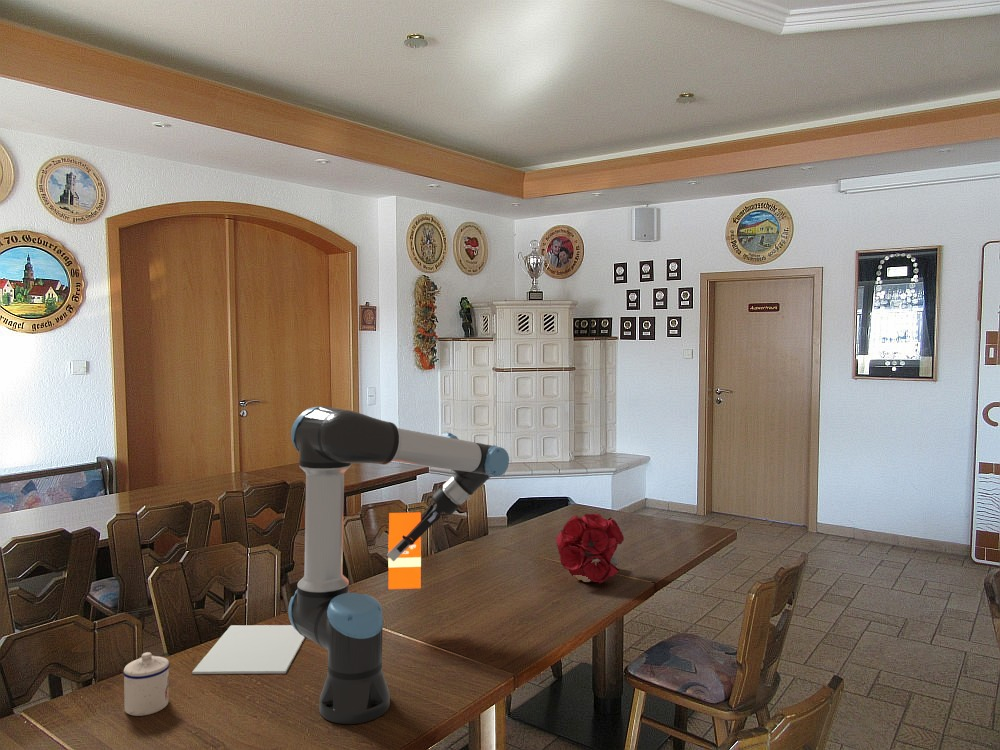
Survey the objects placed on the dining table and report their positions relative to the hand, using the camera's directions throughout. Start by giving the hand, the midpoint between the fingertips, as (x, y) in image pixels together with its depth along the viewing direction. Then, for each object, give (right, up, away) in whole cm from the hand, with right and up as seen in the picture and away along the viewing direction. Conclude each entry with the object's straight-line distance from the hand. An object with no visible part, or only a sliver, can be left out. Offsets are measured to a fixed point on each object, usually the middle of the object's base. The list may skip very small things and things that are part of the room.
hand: (392, 553), depth 197 cm
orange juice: (+3, -9, 0) cm, 10 cm away
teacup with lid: (-48, -23, -41) cm, 67 cm away
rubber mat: (-33, -22, -13) cm, 42 cm away
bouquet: (+62, -21, +46) cm, 80 cm away
